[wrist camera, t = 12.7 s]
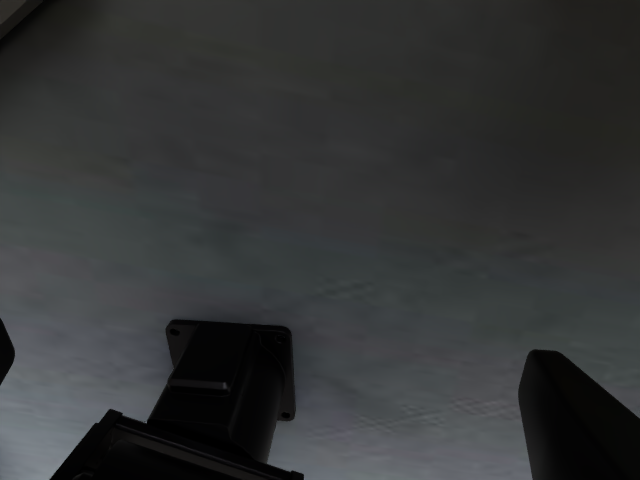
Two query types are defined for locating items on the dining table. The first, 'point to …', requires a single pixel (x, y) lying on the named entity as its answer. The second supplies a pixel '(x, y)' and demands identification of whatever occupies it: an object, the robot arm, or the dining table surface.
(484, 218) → the dining table surface
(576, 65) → the dining table surface
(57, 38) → the dining table surface
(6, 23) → the fast food meal
